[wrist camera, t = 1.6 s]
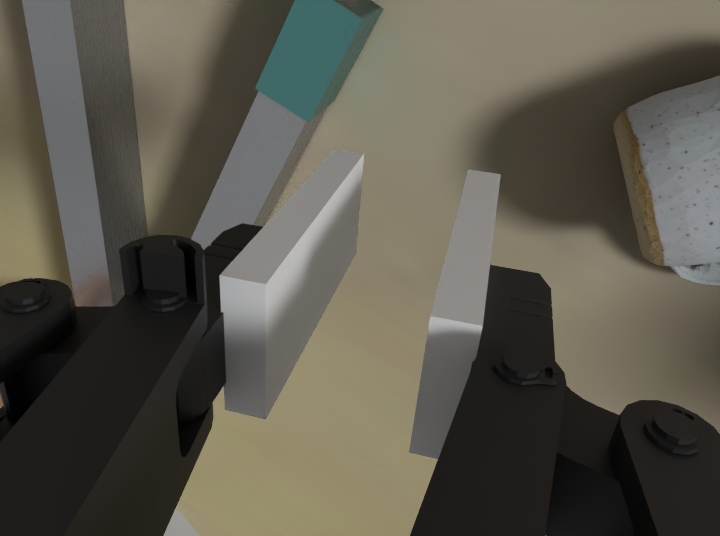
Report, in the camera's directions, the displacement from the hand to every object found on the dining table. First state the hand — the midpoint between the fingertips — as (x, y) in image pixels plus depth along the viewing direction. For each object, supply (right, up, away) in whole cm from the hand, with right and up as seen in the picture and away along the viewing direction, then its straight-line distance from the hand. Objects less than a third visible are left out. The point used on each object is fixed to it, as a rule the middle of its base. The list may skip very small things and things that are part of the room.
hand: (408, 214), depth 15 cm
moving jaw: (-9, +3, +20) cm, 22 cm away
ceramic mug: (+16, +3, +13) cm, 21 cm away
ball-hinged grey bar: (-15, +6, +20) cm, 26 cm away
